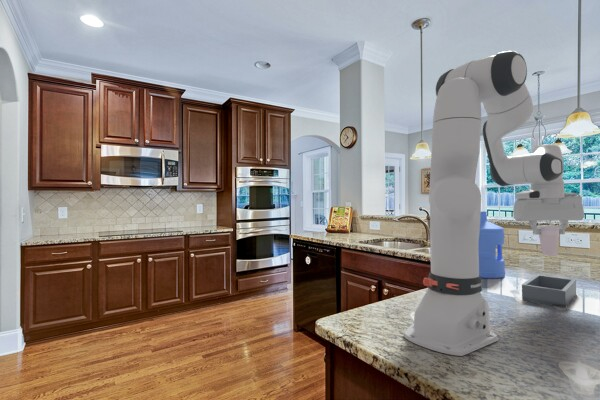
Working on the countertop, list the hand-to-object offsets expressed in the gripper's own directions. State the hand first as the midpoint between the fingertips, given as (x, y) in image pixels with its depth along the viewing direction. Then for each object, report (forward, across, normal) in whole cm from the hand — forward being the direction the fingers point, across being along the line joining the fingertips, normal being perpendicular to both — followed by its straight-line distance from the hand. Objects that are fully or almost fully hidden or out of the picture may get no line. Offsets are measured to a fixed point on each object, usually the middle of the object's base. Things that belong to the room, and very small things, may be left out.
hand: (548, 234), depth 105 cm
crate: (+21, 0, 0) cm, 21 cm away
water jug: (+21, +7, -33) cm, 40 cm away
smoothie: (+7, 0, 0) cm, 7 cm away
